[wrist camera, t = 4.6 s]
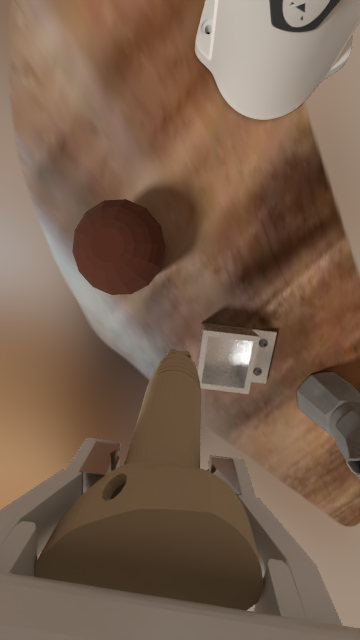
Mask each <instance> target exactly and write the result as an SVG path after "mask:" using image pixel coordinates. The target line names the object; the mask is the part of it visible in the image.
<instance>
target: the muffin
mask: <svg viewBox="0 0 360 640" xmlns="http://www.w3.org/2000/svg"><path fill="white" fill-rule="evenodd" d="M164 251H165V244H164V240H163V236H162V232H161V227H160V225H159V224H158V223H157V221H156V220H155V219H154V218H153V216H152V215H151V214H150V213H149V211H148V210H147V209H146V208H144V207H142V206H140V205H137V204H135V203H133V202H131V201H129V200H126V199H124V200H107V201H103V202H101V203H100V204H98V205H97V206H95V207H93V208H92V209H90V210H88V211H87V212H86V213H85V214H84V216H83V218H82V219H81V221H80V223H79V224H78V226H77V228H76V229H75V234H74V243H73V254H74V257H75V260H76V263H77V266H78V270H79V272H80V273H81V274H82V275H83V276H84V277H85V279H86V280H87V281H88V282H89V283H90V284H91V285H92V286H93V287H95V288H97V289H99V290H102V291H104V292H106V293H109V294H111V295H118V294H132V293H134V292H136V291H138V290H140V289H142V288H144V287H145V286H147V285H149V284H150V282H151V281H152V280H153V278H154V277H155V276H156V274H157V273H158V272H159V270H160V269H161V266H162V261H163V256H164Z"/></svg>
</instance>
